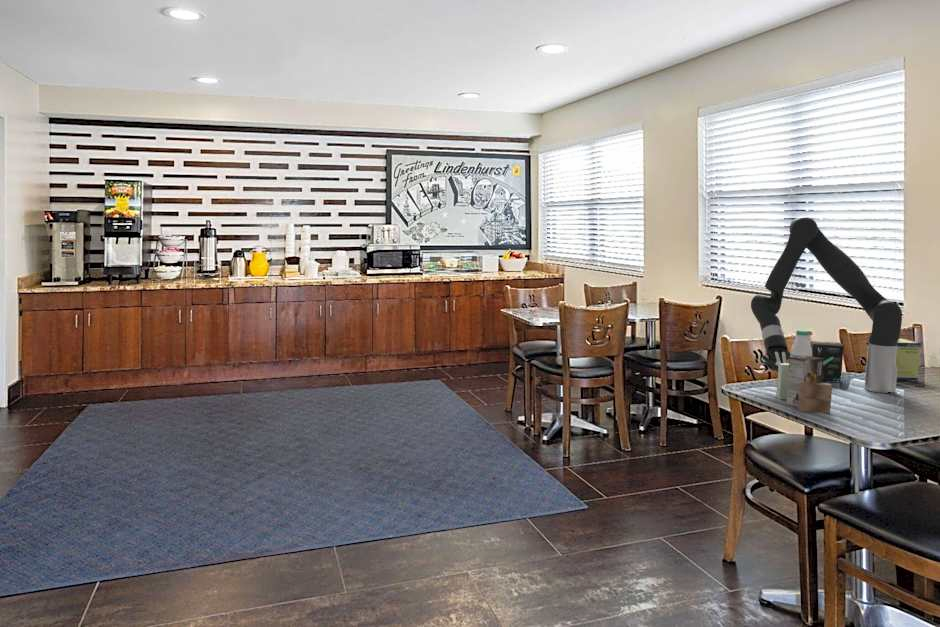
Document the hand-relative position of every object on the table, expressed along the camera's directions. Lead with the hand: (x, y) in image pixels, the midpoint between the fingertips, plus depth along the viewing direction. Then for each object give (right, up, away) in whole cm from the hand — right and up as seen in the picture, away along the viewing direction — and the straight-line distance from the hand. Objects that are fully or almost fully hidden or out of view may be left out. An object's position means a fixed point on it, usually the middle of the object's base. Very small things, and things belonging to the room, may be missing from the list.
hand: (784, 379), depth 255 cm
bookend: (0, -6, -5) cm, 8 cm away
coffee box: (0, -7, -14) cm, 16 cm away
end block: (0, -8, -23) cm, 24 cm away
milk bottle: (+16, -3, +24) cm, 29 cm away
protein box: (+58, -3, +34) cm, 67 cm away
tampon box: (+28, -3, +29) cm, 41 cm away
